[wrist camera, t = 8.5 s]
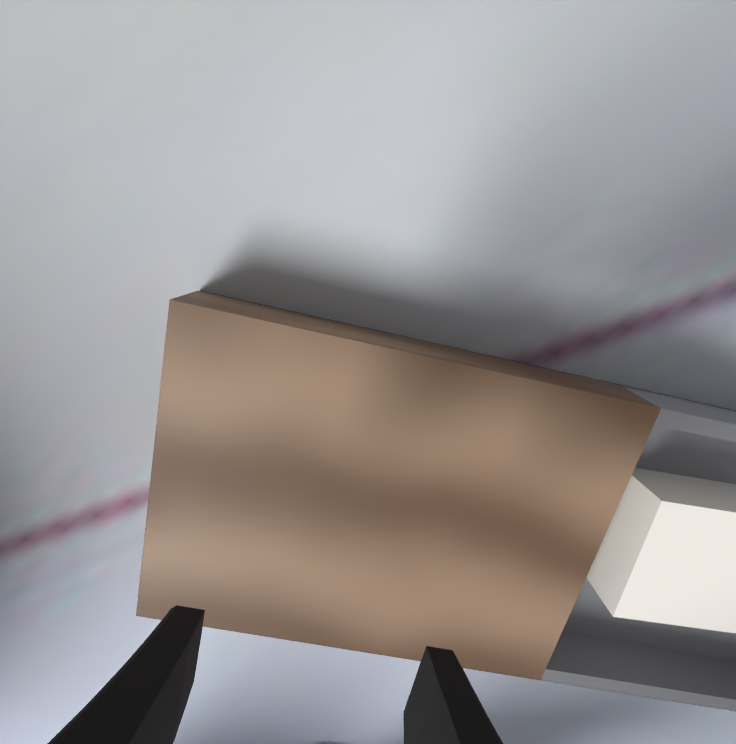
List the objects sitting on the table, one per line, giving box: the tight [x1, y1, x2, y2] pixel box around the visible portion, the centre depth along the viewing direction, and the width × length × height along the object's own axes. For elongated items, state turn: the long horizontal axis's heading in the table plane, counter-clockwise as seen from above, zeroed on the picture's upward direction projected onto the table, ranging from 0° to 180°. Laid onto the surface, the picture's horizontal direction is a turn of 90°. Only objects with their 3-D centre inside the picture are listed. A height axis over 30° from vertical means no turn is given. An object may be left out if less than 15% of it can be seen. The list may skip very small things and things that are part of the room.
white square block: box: [586, 468, 736, 633], centre depth 17 cm, size 5×5×2 cm
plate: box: [136, 291, 661, 680], centre depth 17 cm, size 12×16×2 cm
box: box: [541, 385, 736, 711], centre depth 18 cm, size 12×13×2 cm
